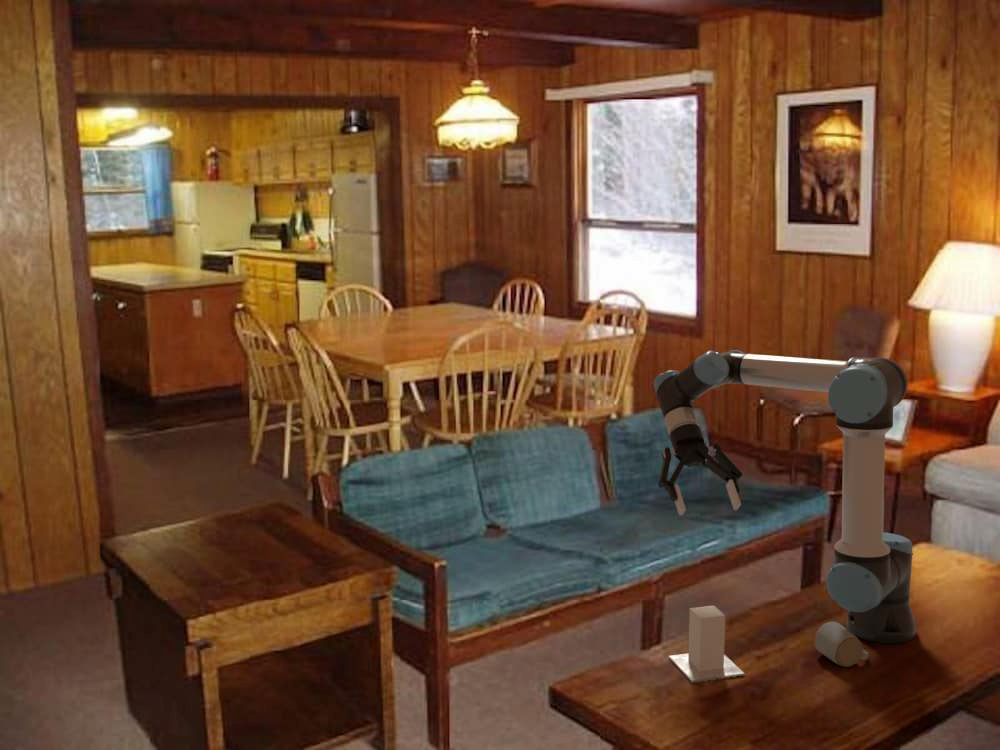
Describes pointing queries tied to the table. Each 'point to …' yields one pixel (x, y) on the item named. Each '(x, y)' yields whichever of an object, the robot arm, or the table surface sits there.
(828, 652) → the ceramic mug
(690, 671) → the square base plate
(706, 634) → the beige square prism
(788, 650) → the table surface
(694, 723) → the table surface
